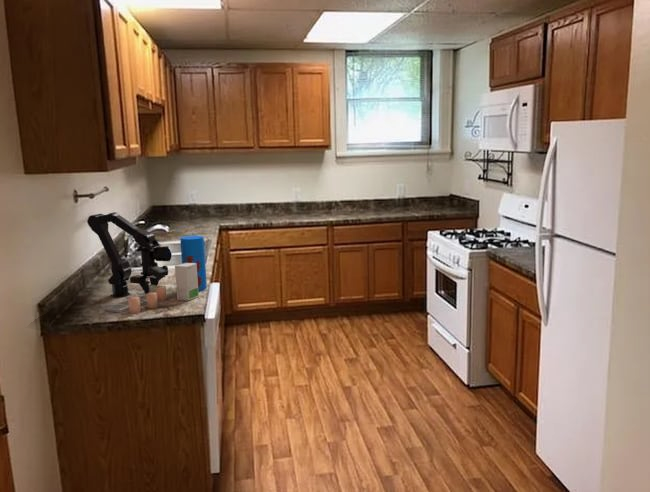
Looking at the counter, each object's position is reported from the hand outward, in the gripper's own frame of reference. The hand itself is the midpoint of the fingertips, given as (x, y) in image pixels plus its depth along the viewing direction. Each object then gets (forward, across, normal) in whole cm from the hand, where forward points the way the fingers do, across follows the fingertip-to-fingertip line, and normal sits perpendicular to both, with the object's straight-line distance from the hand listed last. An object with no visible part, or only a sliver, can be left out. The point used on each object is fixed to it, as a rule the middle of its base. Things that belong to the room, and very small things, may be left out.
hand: (151, 294), depth 248 cm
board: (+1, -15, -2) cm, 15 cm away
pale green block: (+1, 0, 0) cm, 1 cm away
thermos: (+1, +18, -11) cm, 21 cm away
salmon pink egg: (+1, -13, -13) cm, 18 cm away
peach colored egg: (+1, -21, -11) cm, 24 cm away
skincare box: (+1, +4, -18) cm, 18 cm away
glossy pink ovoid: (+1, -3, -9) cm, 10 cm away
